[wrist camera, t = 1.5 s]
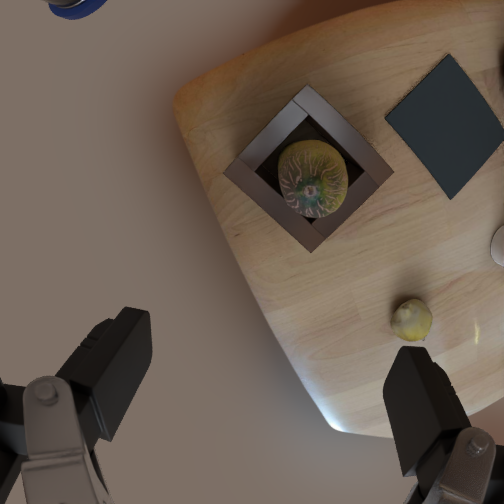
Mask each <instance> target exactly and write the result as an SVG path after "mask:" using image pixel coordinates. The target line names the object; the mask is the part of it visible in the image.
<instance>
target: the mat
mask: <svg viewBox="0 0 504 504" xmlns="http://www.w3.org/2000/svg"><path fill="white" fill-rule="evenodd" d="M385 120H386V121H387V122H388V123H389V124H390V125H391V126H392V127H393V128H394V130H395V131H396V132H397V133H398V134H399V135H400V136H401V138H402V139H403V140H404V141H405V142H406V143H407V145H408V146H409V147H410V148H411V149H412V151H413V152H414V153H415V154H416V155H417V157H418V158H419V159H420V160H421V162H422V163H423V164H424V165H425V167H426V168H427V169H428V171H429V172H430V173H431V174H432V176H433V177H434V178H435V180H436V181H437V182H438V184H439V185H440V186H441V188H442V189H443V191H444V192H445V193H446V195H447V196H448V198H449V199H450V200H451V199H452V198H453V197H454V196H455V195H456V194H457V193H458V192H459V191H460V190H461V189H462V188H463V186H464V185H465V184H466V183H467V182H468V181H469V180H470V179H471V178H472V177H473V175H474V174H475V173H476V172H477V171H478V170H479V169H480V168H481V166H482V165H483V164H484V163H485V162H486V161H487V160H488V158H489V157H490V156H491V155H492V154H493V152H494V151H495V150H496V149H497V148H498V147H499V145H500V144H501V143H502V142H503V141H504V129H503V127H502V125H501V124H500V122H499V121H498V119H497V117H496V116H495V114H494V113H493V111H492V110H491V108H490V107H489V105H488V104H487V102H486V101H485V99H484V98H483V96H482V95H481V94H480V92H479V91H478V89H477V88H476V87H475V85H474V84H473V83H472V81H471V80H470V79H469V77H468V76H467V75H466V73H465V72H464V71H463V70H462V68H461V67H460V66H459V65H458V63H457V62H456V61H455V60H454V59H453V57H452V56H451V55H450V54H448V55H447V56H446V57H445V58H444V59H443V60H442V61H441V62H440V63H439V64H438V65H437V66H436V67H435V68H434V69H433V70H432V71H431V72H430V73H429V74H428V75H427V76H426V77H425V78H424V79H423V80H422V81H421V82H420V83H419V84H418V85H417V86H416V87H415V88H414V89H413V90H412V91H411V92H410V93H409V94H408V95H407V96H406V97H405V98H404V99H403V100H402V101H401V102H400V103H399V104H398V105H397V106H396V107H395V108H394V109H393V110H392V111H391V112H390V113H389V114H388V115H387V116H386V117H385Z"/></svg>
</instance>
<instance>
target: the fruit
mask: <svg viewBox="0 0 504 504" xmlns="http://www.w3.org/2000/svg"><path fill="white" fill-rule="evenodd" d="M431 323H432V313H431V311H430V310H429V308H428V307H427V305H426V304H425V303H423V302H422V301H420V300H418V299H411V300H409V301H407V302H405V303H404V304H401V305H400V307H399V308H398V309H397V310H396V311H395V313H394V315H393V317H392V319H391V327H392V330H393V332H394V333H395V334H396V335H397V336H398V337H400V338H401V339H403V340H406V341H418V340H423V341H424V340H425V336H426V335H427V334H428V333H429V330H430V327H431Z"/></svg>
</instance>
